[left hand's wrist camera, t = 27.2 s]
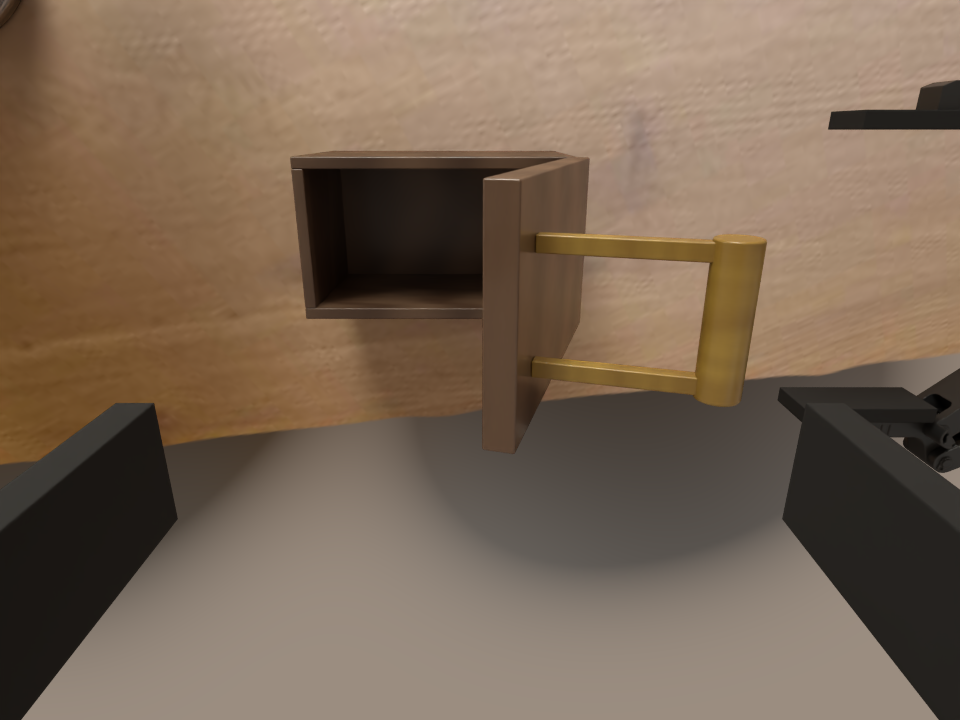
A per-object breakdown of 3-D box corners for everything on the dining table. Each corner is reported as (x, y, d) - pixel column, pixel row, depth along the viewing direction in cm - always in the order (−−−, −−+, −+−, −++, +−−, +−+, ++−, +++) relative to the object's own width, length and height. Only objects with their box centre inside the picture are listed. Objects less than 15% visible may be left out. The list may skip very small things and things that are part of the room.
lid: (481, 450, 23) (740, 488, 21) (482, 177, 20) (792, 184, 17) (559, 321, 39) (711, 334, 37) (567, 157, 36) (736, 159, 33)
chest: (342, 280, 50) (306, 318, 40) (332, 151, 47) (289, 156, 36) (550, 280, 50) (568, 319, 40) (555, 151, 47) (576, 156, 36)
